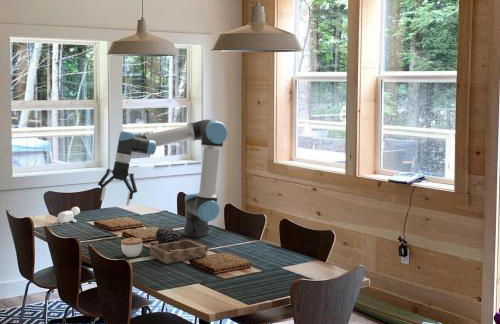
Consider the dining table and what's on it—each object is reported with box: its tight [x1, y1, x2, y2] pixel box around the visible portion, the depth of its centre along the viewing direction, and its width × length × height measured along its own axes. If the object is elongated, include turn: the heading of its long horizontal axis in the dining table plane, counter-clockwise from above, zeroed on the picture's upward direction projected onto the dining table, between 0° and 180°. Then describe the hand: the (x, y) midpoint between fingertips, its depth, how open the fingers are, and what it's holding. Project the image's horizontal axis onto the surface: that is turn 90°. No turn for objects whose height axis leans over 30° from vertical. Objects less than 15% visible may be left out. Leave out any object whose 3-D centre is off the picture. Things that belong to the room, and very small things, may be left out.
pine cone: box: [155, 225, 180, 244], centre depth 383 cm, size 10×18×10 cm, turn 36°
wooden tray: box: [149, 238, 207, 264], centre depth 363 cm, size 22×18×5 cm
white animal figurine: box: [55, 206, 81, 225], centre depth 445 cm, size 9×8×15 cm
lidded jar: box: [120, 236, 143, 258], centre depth 365 cm, size 11×11×9 cm
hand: (114, 202), depth 371 cm, fingers open, 13 cm apart
